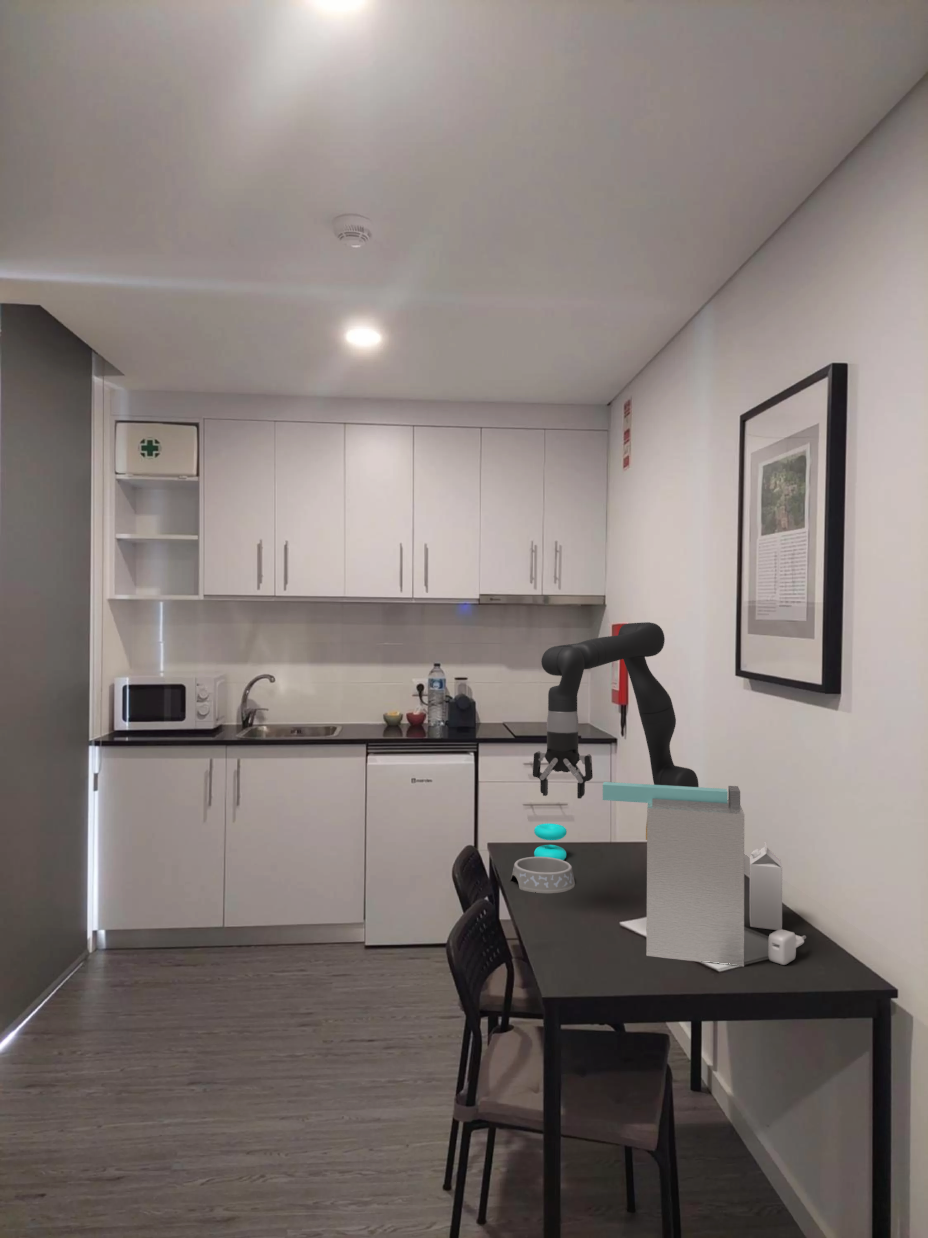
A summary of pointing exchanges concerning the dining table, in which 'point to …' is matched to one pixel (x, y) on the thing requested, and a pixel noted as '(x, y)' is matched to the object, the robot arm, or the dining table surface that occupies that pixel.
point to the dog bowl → (543, 875)
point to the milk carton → (765, 890)
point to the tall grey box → (696, 879)
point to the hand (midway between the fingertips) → (562, 796)
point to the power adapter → (783, 946)
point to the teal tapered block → (661, 793)
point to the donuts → (550, 833)
